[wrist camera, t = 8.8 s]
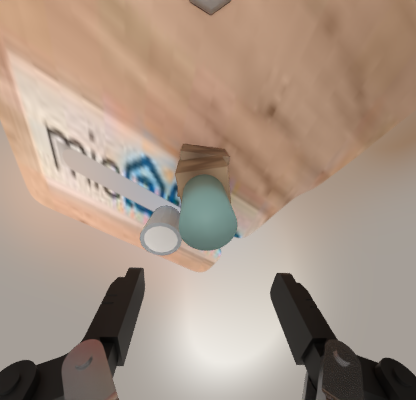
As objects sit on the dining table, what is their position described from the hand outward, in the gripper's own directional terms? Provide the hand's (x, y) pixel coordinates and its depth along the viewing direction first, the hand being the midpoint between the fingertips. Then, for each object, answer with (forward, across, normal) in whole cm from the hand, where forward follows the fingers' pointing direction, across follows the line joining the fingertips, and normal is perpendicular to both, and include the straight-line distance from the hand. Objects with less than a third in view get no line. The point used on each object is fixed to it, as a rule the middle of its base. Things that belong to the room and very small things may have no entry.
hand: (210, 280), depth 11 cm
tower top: (+18, 0, 0) cm, 18 cm away
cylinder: (+12, 0, 0) cm, 12 cm away
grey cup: (+24, +6, +11) cm, 27 cm away
